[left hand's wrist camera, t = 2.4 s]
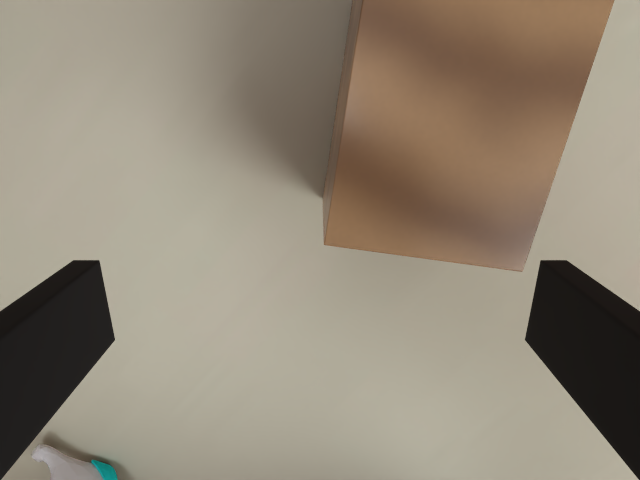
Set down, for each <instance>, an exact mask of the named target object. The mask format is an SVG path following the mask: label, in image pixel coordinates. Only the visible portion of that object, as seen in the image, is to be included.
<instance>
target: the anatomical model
mask: <svg viewBox="0 0 640 480" xmlns="http://www.w3.org/2000/svg"><path fill="white" fill-rule="evenodd" d="M31 455H32V457H33V459H34V460H35V461H39V462H41V461H44V462H45V463H46V464H47V465H48V466H49V469H50V472H51V480H118V479H117V475H116V472H115V469H114V468H113V467H112V466H111V465H109V464H105V463H102V462H99V461H96V460H92V461H91V463H89V462H85V461H81V460H78V459H75V458H72V457H70V456H67V455H65V454H63V453H61V452H60V451H58V450H57V449H55V448H53V447H51V446H49V445H45V444H39V445H37V446H36V447H35V448H34V450H33V452H32V454H31Z"/></svg>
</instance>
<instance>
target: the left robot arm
mask: <svg viewBox="0 0 640 480" xmlns="http://www.w3.org/2000/svg"><path fill="white" fill-rule="evenodd" d="M114 340H115V338H114V333H113V327H112V322H111V317H110V312H109V307H108V302H107V297H106V292H105V287H104V282H103V277H102V272H101V267H100V262H99V260H73V261H72V262H71V263H69V264H68V265H66V266H65V267H63V268H62V269H60V270H59V271H58V272H56V273H55V274H53V275H52V276H50V277H49V278H48V279H46V280H45V281H43V282H42V283H40V284H39V285H38V286H36V287H35V288H33V289H32V290H30V291H29V292H27V293H26V294H25V295H23V296H22V297H20V298H19V299H17V300H16V301H15V302H13V303H12V304H10V305H9V306H7V307H6V308H5V309H3V310H2V311H0V480H1V479H2V478H3V477H4V475H5V474H6V473H7V472H8V470H9V469H10V468H11V467H12V465H13V464H14V463H15V462H16V461H17V459H18V458H19V457H20V456H21V454H22V453H23V452H24V451H25V450H26V448H27V447H28V446H29V445H30V443H31V442H32V441H33V440H34V439H35V437H36V436H37V435H38V434H39V432H40V431H41V430H42V429H43V427H44V426H45V425H46V424H47V423H48V421H49V420H50V419H51V418H52V416H53V415H54V414H55V413H56V412H57V410H58V409H59V408H60V407H61V405H62V404H63V403H64V402H65V401H66V399H67V398H68V397H69V396H70V394H71V393H72V392H73V391H74V389H75V388H76V387H77V386H78V385H79V383H80V382H81V381H82V380H83V378H84V377H85V376H86V375H87V374H88V372H89V371H90V370H91V369H92V367H93V366H94V365H95V364H96V363H97V361H98V360H99V359H100V358H101V356H102V355H103V354H104V353H105V351H106V350H107V349H108V348H109V347H110V345H111V344H112V343H113V342H114ZM525 340H526V342H527V343H528V344H529V345H530V347H531V348H532V349H533V350H534V351H535V353H536V354H537V355H538V356H539V358H540V359H541V360H542V361H543V363H544V364H545V365H546V366H547V367H548V369H549V370H550V371H551V372H552V374H553V375H554V376H555V377H556V378H557V380H558V381H559V382H560V383H561V385H562V386H563V387H564V388H565V389H566V391H567V392H568V393H569V394H570V396H571V397H572V398H573V399H574V401H575V402H576V403H577V404H578V405H579V407H580V408H581V409H582V410H583V412H584V413H585V414H586V415H587V416H588V418H589V419H590V420H591V421H592V423H593V424H594V425H595V426H596V427H597V429H598V430H599V431H600V432H601V434H602V435H603V436H604V437H605V439H606V440H607V441H608V442H609V443H610V445H611V446H612V447H613V448H614V450H615V451H616V452H617V453H618V454H619V456H620V457H621V458H622V459H623V461H624V462H625V463H626V464H627V465H628V467H629V468H630V469H631V470H632V472H633V473H634V474H635V475H636V477H637V478H638V479H639V480H640V311H638V310H637V309H635V308H634V307H633V306H631V305H630V304H628V303H627V302H625V301H624V300H623V299H621V298H620V297H618V296H617V295H615V294H614V293H613V292H611V291H610V290H608V289H607V288H605V287H604V286H602V285H601V284H600V283H598V282H597V281H595V280H594V279H592V278H591V277H590V276H588V275H587V274H585V273H584V272H582V271H581V270H580V269H578V268H577V267H575V266H574V265H572V264H571V263H569V262H568V261H567V260H541V262H540V267H539V272H538V277H537V282H536V287H535V292H534V297H533V302H532V307H531V312H530V317H529V322H528V327H527V333H526V338H525Z"/></svg>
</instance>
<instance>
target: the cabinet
mask: <svg viewBox="0 0 640 480" xmlns="http://www.w3.org/2000/svg"><path fill="white" fill-rule="evenodd" d="M613 3H614V0H353V1H352V8H351V15H350V21H349V28H348V35H347V41H346V48H345V54H344V61H343V68H342V74H341V81H340V88H339V94H338V101H337V107H336V114H335V121H334V127H333V134H332V141H331V147H330V154H329V160H328V167H327V174H326V180H325V187H324V194H323V229H324V245H329V246H336V247H343V248H351V249H358V250H366V251H373V252H380V253H388V254H395V255H402V256H410V257H417V258H425V259H432V260H439V261H447V262H454V263H461V264H469V265H476V266H483V267H491V268H498V269H506V270H513V271H520V272H522V271H523V268H524V265H525V262H526V260H527V257H528V254H529V251H530V248H531V245H532V242H533V239H534V236H535V233H536V230H537V227H538V224H539V221H540V218H541V215H542V212H543V209H544V206H545V203H546V200H547V198H548V195H549V192H550V189H551V186H552V183H553V180H554V177H555V174H556V171H557V168H558V165H559V162H560V159H561V156H562V153H563V150H564V147H565V144H566V141H567V138H568V136H569V133H570V130H571V127H572V124H573V121H574V118H575V115H576V112H577V109H578V106H579V103H580V100H581V97H582V94H583V91H584V88H585V85H586V82H587V79H588V77H589V74H590V71H591V68H592V65H593V62H594V59H595V56H596V53H597V50H598V47H599V44H600V41H601V38H602V35H603V32H604V29H605V26H606V23H607V20H608V17H609V15H610V12H611V9H612V6H613Z"/></svg>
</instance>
